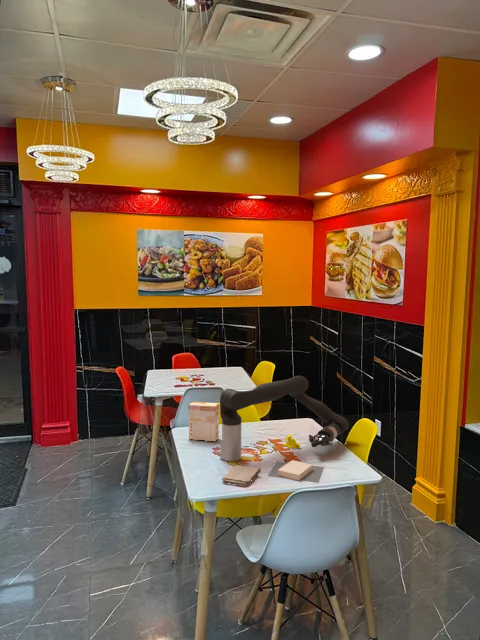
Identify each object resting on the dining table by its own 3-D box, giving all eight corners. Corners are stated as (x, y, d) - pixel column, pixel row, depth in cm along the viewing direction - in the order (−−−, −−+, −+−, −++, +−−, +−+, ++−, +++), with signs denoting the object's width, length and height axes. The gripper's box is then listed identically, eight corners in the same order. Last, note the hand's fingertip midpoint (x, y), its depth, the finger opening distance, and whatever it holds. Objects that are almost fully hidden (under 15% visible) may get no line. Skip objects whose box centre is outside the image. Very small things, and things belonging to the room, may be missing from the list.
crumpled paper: (299, 450, 239) (299, 435, 239) (283, 449, 241) (283, 434, 240) (299, 446, 245) (300, 431, 245) (284, 445, 246) (284, 431, 246)
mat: (267, 477, 205) (267, 475, 205) (276, 463, 222) (276, 461, 222) (318, 484, 198) (318, 482, 198) (324, 468, 215) (324, 467, 215)
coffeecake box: (219, 438, 257) (219, 403, 255) (215, 442, 250) (215, 406, 249) (193, 436, 261) (193, 401, 259) (188, 440, 254) (188, 404, 252)
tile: (292, 465, 217) (277, 475, 205) (292, 460, 217) (277, 469, 205) (312, 470, 212) (298, 480, 200) (312, 464, 211) (298, 475, 200)
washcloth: (220, 484, 199) (220, 477, 198) (235, 469, 215) (235, 462, 215) (247, 488, 195) (247, 481, 194) (260, 472, 211) (260, 466, 211)
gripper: (315, 425, 241) (300, 434, 227) (339, 429, 234) (326, 439, 220) (314, 439, 242) (300, 450, 227) (339, 444, 235) (326, 455, 220)
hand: (313, 444), depth 224 cm, fingers closed
